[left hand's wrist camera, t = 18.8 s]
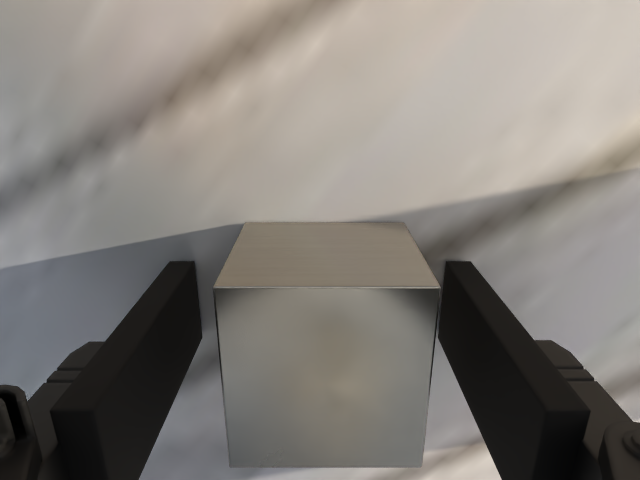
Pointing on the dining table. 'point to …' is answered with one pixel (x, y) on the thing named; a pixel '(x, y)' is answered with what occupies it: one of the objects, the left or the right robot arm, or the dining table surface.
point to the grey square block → (326, 345)
